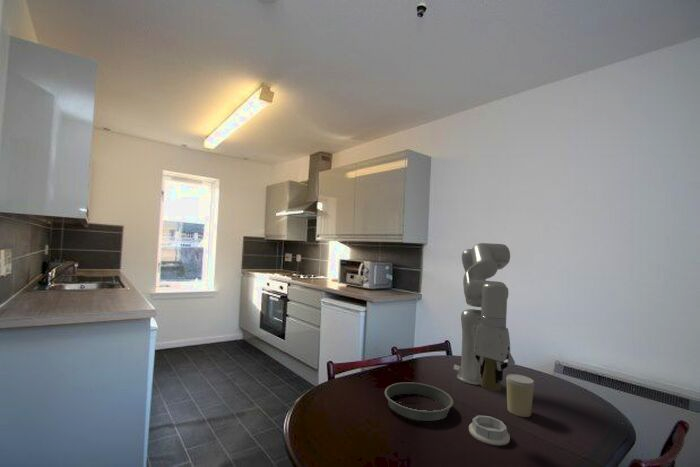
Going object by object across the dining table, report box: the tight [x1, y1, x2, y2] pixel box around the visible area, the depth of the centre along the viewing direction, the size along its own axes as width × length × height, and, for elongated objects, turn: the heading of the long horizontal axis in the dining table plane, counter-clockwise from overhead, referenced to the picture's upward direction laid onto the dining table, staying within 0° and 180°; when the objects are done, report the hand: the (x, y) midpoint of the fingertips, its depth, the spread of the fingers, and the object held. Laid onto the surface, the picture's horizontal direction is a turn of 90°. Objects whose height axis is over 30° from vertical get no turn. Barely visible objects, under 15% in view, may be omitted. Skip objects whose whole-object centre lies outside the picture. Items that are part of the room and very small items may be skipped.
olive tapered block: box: [480, 357, 502, 392], centre depth 107 cm, size 6×6×11 cm
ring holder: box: [468, 414, 511, 447], centre depth 106 cm, size 12×12×4 cm
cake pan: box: [384, 381, 454, 421], centre depth 122 cm, size 25×25×4 cm
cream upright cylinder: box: [505, 373, 535, 418], centre depth 123 cm, size 9×9×12 cm
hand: (491, 379), depth 107 cm, fingers closed on olive tapered block, 3 cm apart
